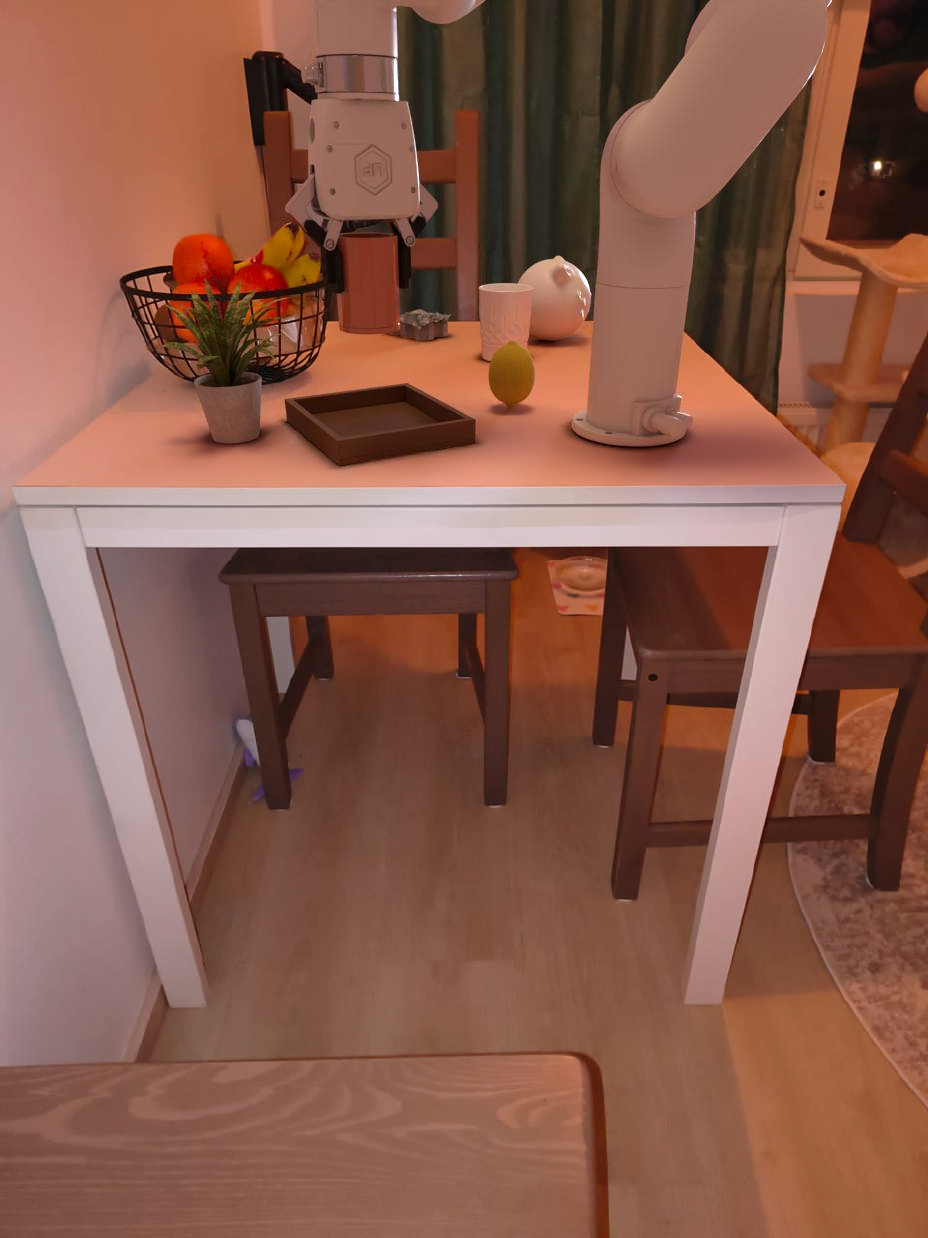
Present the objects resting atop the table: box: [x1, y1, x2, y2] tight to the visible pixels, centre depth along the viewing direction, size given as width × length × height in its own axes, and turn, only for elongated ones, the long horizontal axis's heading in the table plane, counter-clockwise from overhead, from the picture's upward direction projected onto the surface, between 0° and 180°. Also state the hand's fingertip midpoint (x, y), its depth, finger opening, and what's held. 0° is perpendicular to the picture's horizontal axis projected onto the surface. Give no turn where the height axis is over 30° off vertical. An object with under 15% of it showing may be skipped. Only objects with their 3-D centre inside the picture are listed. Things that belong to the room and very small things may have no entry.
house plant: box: [161, 278, 294, 444], centre depth 86 cm, size 14×14×16 cm
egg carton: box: [387, 309, 452, 342], centre depth 139 cm, size 11×8×4 cm
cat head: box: [517, 255, 592, 342], centre depth 133 cm, size 15×13×12 cm
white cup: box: [478, 282, 533, 362], centre depth 122 cm, size 8×8×10 cm
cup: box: [336, 231, 401, 336], centre depth 85 cm, size 6×6×9 cm
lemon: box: [488, 341, 536, 409], centre depth 99 cm, size 6×6×8 cm
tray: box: [284, 382, 477, 467], centre depth 92 cm, size 18×16×3 cm
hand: (368, 287), depth 85 cm, fingers closed on cup, 6 cm apart
